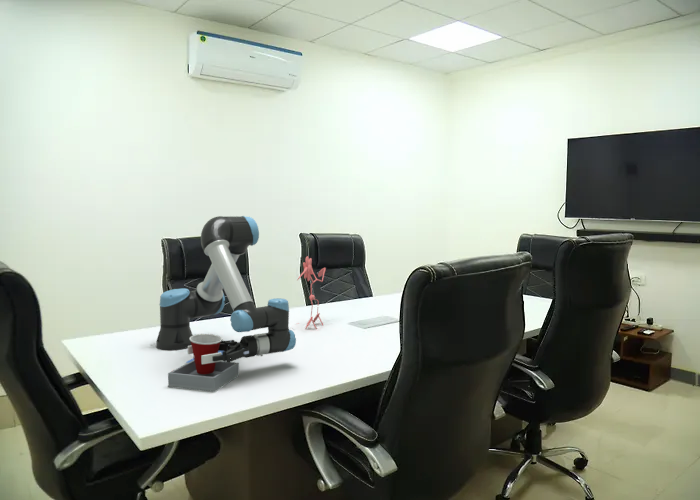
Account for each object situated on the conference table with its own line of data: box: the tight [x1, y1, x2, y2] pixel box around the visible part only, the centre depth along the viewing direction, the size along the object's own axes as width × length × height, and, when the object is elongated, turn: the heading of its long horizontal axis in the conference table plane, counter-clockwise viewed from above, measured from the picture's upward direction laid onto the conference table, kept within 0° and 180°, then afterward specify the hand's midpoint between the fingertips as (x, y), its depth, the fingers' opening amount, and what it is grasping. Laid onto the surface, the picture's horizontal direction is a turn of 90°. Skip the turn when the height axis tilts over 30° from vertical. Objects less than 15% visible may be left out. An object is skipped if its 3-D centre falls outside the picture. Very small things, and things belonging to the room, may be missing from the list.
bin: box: [167, 360, 240, 393], centre depth 171 cm, size 17×17×4 cm
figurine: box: [292, 255, 327, 331], centre depth 251 cm, size 15×26×35 cm, turn 163°
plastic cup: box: [190, 333, 223, 374], centre depth 173 cm, size 11×11×12 cm
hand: (194, 354), depth 168 cm, fingers open, 13 cm apart
